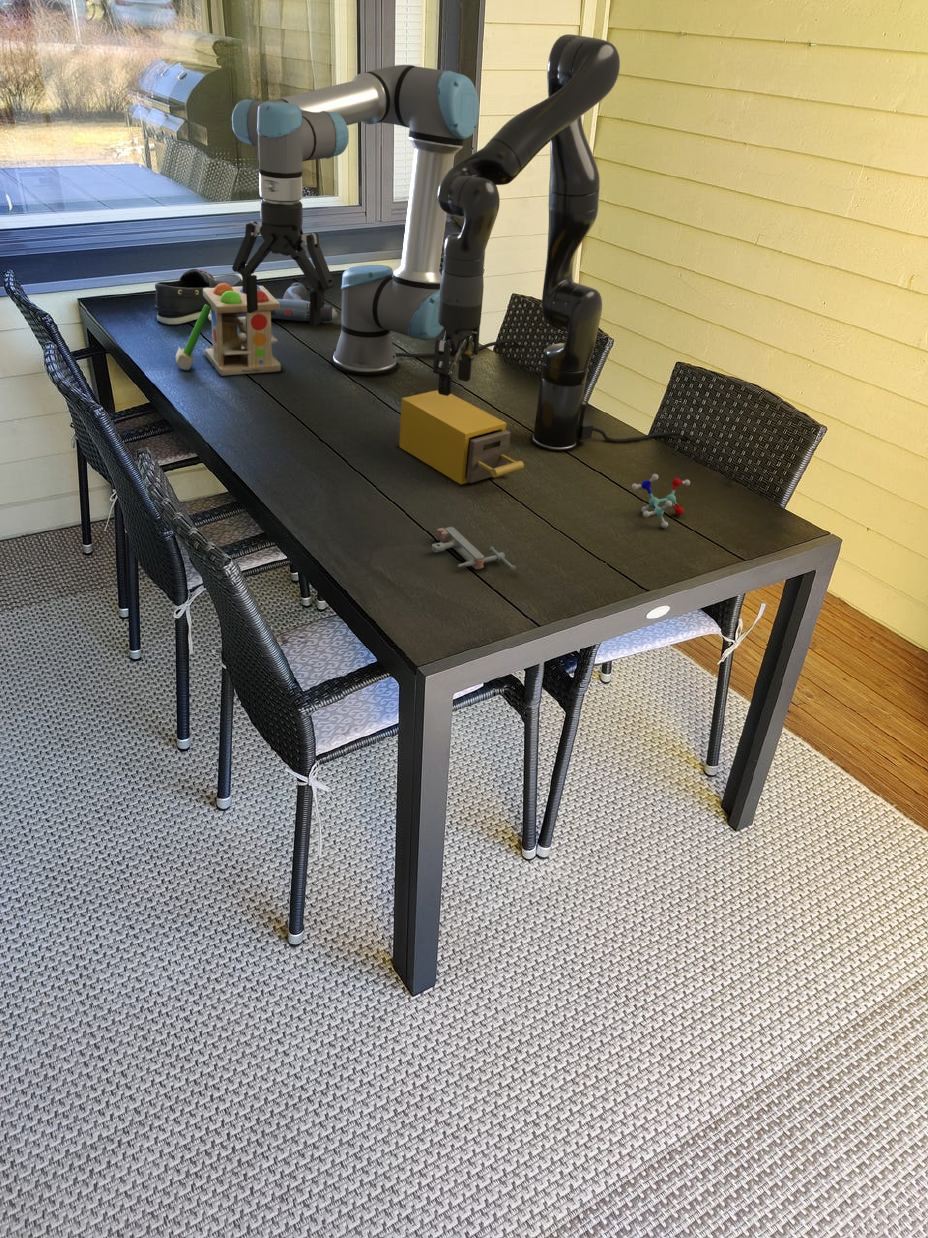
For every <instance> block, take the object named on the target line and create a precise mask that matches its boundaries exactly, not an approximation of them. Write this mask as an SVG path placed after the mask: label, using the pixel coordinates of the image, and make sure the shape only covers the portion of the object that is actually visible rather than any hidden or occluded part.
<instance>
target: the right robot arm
mask: <svg viewBox="0 0 928 1238" xmlns="http://www.w3.org/2000/svg"><path fill="white" fill-rule="evenodd" d="M620 59H621V58H620V54H619V52H618V49H617V47H616V46H615V45H614V44H613V43H612V42H609V41H607V40H605V39H601V38H597V37H590V36H585V35H577V34H569V33H568V34H563V35H560V36H559V37H558V38H557V39H556V40H555V42H554V43H553V45H552V47H551V49H550V52H549V56H548V62H547V69H546V82H547V83H546V84H547V98H546V99H544V100H542V101H540V102H538V103H536V104H534V105H532V106H530V107H529V108H526V109H525V110H523V111H521V112H520V113H518V114H516V115H515V116H514V117H512V118H510V119H509V120H508V121H507V122H506V123H505V124H503V125H502V127H501V128H500V129H499V130H498V131H497V132H496V133H495V134H494V135H493V136H492V137H491V138H490V139H489V141H488V142H487V143H486V144H485V145H484V147H482V148H480V149H479V150H477V151H475V152H473V153H472V154H471V155H469V156H467V157H466V158H464V159H462V160H461V161H460V162H458V163H457V164H456V165H453V168H452V169H451V170H450V171H449V172H448V173H447V174H446V175H445V176H444V178H443V179H442V181H441V183H440V186H439V189H438V203H439V205H440V207H441V209H442V210H443V211H444V212H446V213H447V215H449V216H452V217H454V218H455V217H456V218H458V219H461V220H464V223H463V226H462V229H461V231H459V232H452V233H449V234H448V236H446V238H445V240H444V243H443V258H442V259H443V260H442V273H441V275H442V277H441V282H440V296H439V311H438V323H439V324H440V325H441V326H443V327H444V331H445V332H444V336H443V339H439V338H436V340H435V345H434V353H435V354H434V357H433V365H432V373H433V374H436V375H438V384H437V385H438V387H437V390H438V393H439V394H441V395H445V396H448V395H450V394H452V381H453V373H454V370H455V367H456V366H457V365H458V370H457V371H458V372H457V379H458V381H462V382H469V381H470V380H471V374H472V373H471V372H472V362H473V361H474V359H475V356H477V355H478V354H479V351H478V348H479V347H480V345H479V344H480V329H481V322H482V313H483V312H482V310H483V299H484V290H485V289H484V288H485V287H484V286H485V285H484V273H485V272H484V270H485V259H486V248H487V246H488V243H489V240H490V238H491V234H492V231H493V229H494V225H495V223H496V220H497V217H498V214H499V210H500V205H501V204H500V203H501V202H500V201H501V199H500V193H499V189H498V186H504V185H509V184H510V183H511V182H513V181H514V180H515V179H516V178H517V177H518V176H519V175H520V173H521V172H523V170H524V169H525V168H526V167H527V166H528V165H529V164H530V163H531V161H532V160H533V159H534V158H535V157H536V156H537V155H538V153H540V151H542V149H544V148H545V146H547V145H548V144H549V143H550V144H549V148H550V149H549V151H550V152H549V155H550V157H549V183H548V230H547V231H548V232H547V249H546V251H547V252H546V263H545V271H544V278H543V279H544V280H543V287H542V295H541V296H542V298H541V313H542V317H543V320H544V321H545V322H546V323H547V324H548V325H549V326H551V327H553V328H556V329H558V330H562V331H565V332H567V335H566V339H565V342H560V343H554V344H551V345H549V346H547V347H546V348H545V350H544V353H543V360H542V361H543V362H542V368H541V377H540V384H539V391H538V397H537V398H538V399H537V404H536V405H537V406H536V414H535V415H534V417H535V419H534V429H533V434H532V442H533V443H534V444H535V445H536V446H538V447H540V448H542V449H545V450H547V451H548V450H549V451H554V452H555V451H556V452H564V451H570V450H572V449H575V448H576V446H580V444H581V441H583V440H589V439H592V435H593V432H596V433H598V434H601V436H602V437H603V439H605V440H606V441H607V442H608V441H609V442H611V443H615V444H616V443H618V444H621V443H629V442H637V441H644V440H647V439H651V438H657V437H658V438H659V437H660V438H661V437H669V436H680V437H683V438H685V439H686V440H687V441H688V442H692V441H693V439H692V438H691V437H690V435H688V436H681V435H680V434H679V432H680V431H668V432H655V433H650V434H646V435H642V436H636V437H635V436H634V437H627V438H613V437H609V436H608V435H607V434H606V431H604V430H602V429H601V428H598V427H595V426H594V424H593V423H592V422H589V421H588V420H586V419H585V414H586V408H587V402H586V401H585V400H584V397H585V390H586V384H587V383H586V382H587V377H588V371H589V365H590V361H591V357H592V355H593V353H594V350H595V346H596V342H597V337H598V331H599V327H600V322H601V317H602V313H603V312H602V311H603V297H602V295H601V293H600V291H598V289H596V288H594V287H591V286H587V285H584V284H581V283H578V282H576V281H574V279H573V278H574V277H573V276H574V275H573V273H574V262H575V257H576V254H577V251H578V249H579V248H580V246H581V245H582V243H583V241H584V240H585V239H586V237H587V235H589V233H590V231H591V230H592V228H593V226H594V224H595V223H596V220H597V218H598V214H599V207H600V205H599V203H600V188H601V177H600V171H599V168H598V164H597V162H596V159H595V157H594V154H593V151H592V149H591V147H590V144H589V141H588V139H587V135H586V133H585V129H584V125H583V119H582V116H583V115H585V114H586V113H587V112H588V111H590V110H592V108H594V107H595V106H597V105H598V104H600V102H602V100H604V99H605V98H606V97H607V96H608V95H609V94H610V92H612V90H613V88H614V87H615V85H616V83H617V81H618V78H619V74H620V69H621V60H620Z"/></svg>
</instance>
